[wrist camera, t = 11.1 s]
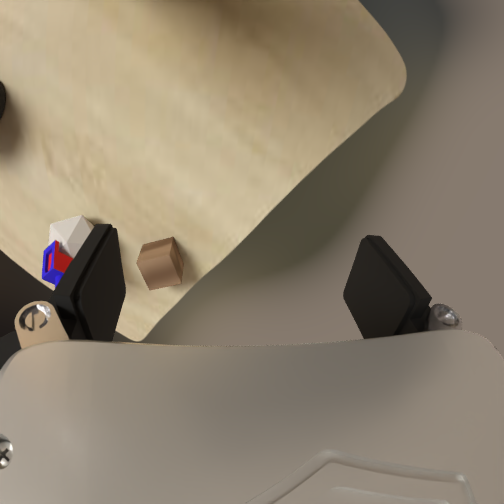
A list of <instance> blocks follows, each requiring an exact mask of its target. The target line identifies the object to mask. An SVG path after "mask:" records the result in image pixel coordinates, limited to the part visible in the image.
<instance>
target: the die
mask: <svg viewBox="0 0 504 504" xmlns="http://www.w3.org/2000/svg"><path fill="white" fill-rule="evenodd" d="M93 228H94V226H93V225H92V224H91V223H90V222H89V221H88V220H87V219H86V218H85V217H84V216H83V215H80V216H76V217H73V218H69V219H66V220H62V221H59V222H55V223H52V224H50V234H49V245H50V244H51V243H52V242H54V241H55V240H57V241H58V242H59V251H60V252H62V253H63V254H65V255H67V256H69V257H71V258H73V259H74V257H75V256H76V254H77V252H78V251H79V249H80V248H81V246H82V245H83V243H84V241H85V240H86V238H87V237H88V235H89V234H90V232H91V231H92V229H93Z"/></svg>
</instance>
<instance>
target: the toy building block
mask: <svg viewBox="0 0 504 504" xmlns="http://www.w3.org/2000/svg"><path fill="white" fill-rule="evenodd" d="M72 260H73V258H71V257H69V256H67V255H65V254H63V253H62V252H60V251H59V242H58V241H57V240H55V241H54V242H52V243H51V244H50V245H49V246H48V247H47V248H46V249H45V250H44V255H43V268H42V279H43V280H45V281H48V282H50V283H52V284H55V288H56V286H57V284H58V283H59V281H60V279H61V278H62V276H63V274H64V272H65V271H66V269H67V267H68V266H69V264H70V262H71V261H72Z"/></svg>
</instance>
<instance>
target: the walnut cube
mask: <svg viewBox="0 0 504 504" xmlns="http://www.w3.org/2000/svg"><path fill="white" fill-rule="evenodd" d="M137 265H138V268H139V270H140V272H141V274H142V276H143V278H144V280H145V282H146V284H147V286H148V288H149V290H154V289H159V288H163V287H168V286H172V285H177V284H181V281H182V273H183V265H184V264H183V261H182V259H181V256H180V253H179V251H178V248H177V245H176V243H175V240H174V237H171V238H167V239H163V240H159V241H155V242H151V243H148V244H144V245H143V246H142V249H141V251H140V254H139V257H138V260H137Z"/></svg>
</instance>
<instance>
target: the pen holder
mask: <svg viewBox="0 0 504 504" xmlns="http://www.w3.org/2000/svg"><path fill="white" fill-rule="evenodd" d="M4 107H5V92H4V88H3V86H2V84H1V82H0V118H1V116H2V114H3V111H4Z"/></svg>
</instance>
